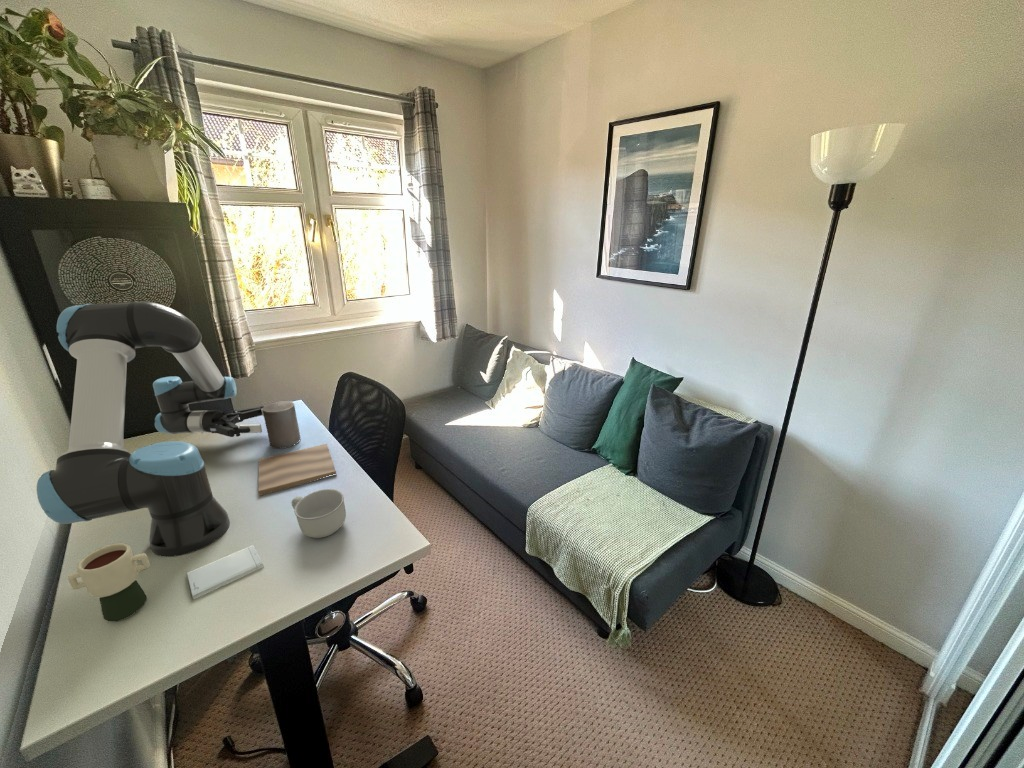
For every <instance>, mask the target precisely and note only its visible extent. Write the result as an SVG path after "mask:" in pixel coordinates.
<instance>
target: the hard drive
mask: <svg viewBox="0 0 1024 768" xmlns="http://www.w3.org/2000/svg"><path fill="white" fill-rule="evenodd" d="M262 568H264V564H263V561H262V559H261V557H260V555H259V553H258V550H257V549H256V547H255V545H254V544H252V545H249V546H247V547H245V548H243V549H240V550H237V551H235V552H232V553H230V554H229V555H228V554H227V555H226V556H224V557H221V558H219V559H217V560H214V561H212V562H210V563H207V564H204V565H202V566H200V567H198V568H195V569H193V570H191V571H188V572H186V575H187V579H188V584H189V588H190V592H191V596H192V599H193V600H196V599H197V598H200V597H203V596H204V595H205V594H206V595H207V594H208V593H210V592H213V591H215V590H216V589H217V590H218V589H219V588H222V587H223V586H226V585H227V584H230V583H231V582H234V581H236V580H239V579H241V578H242V577H245V576H247V575H249V574H251V573H253V572H256V571H258V570H260V569H262Z"/></svg>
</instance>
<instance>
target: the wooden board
mask: <svg viewBox="0 0 1024 768" xmlns="http://www.w3.org/2000/svg"><path fill="white" fill-rule="evenodd" d="M332 458H333V457H332V456H331V452H330V450H329V446H328V443H325V444H321V445H320V444H319V445H316V446H311V447H306V448H303V449H297V450H294V451H289V452H285V453H281V454H277V455H275V454H274V455H272V456H268V457H267V456H266V457H262V458H259V459H258V495H259V496H263V495H267V494H272V493H275V492H278V491H282V490H286V489H290V488H294V487H298V486H300V484H302V485H304V484H303V483H306V484H308V483H307V482H309V483H311V482H310V481H313V482H315V481H314V480H317V479H320V478H323V477H326V476H329V475H333V474H336V475H337V471H336V467H335V465H334V461H333V459H332ZM317 481H318V480H317ZM297 485H298V486H297Z"/></svg>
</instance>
